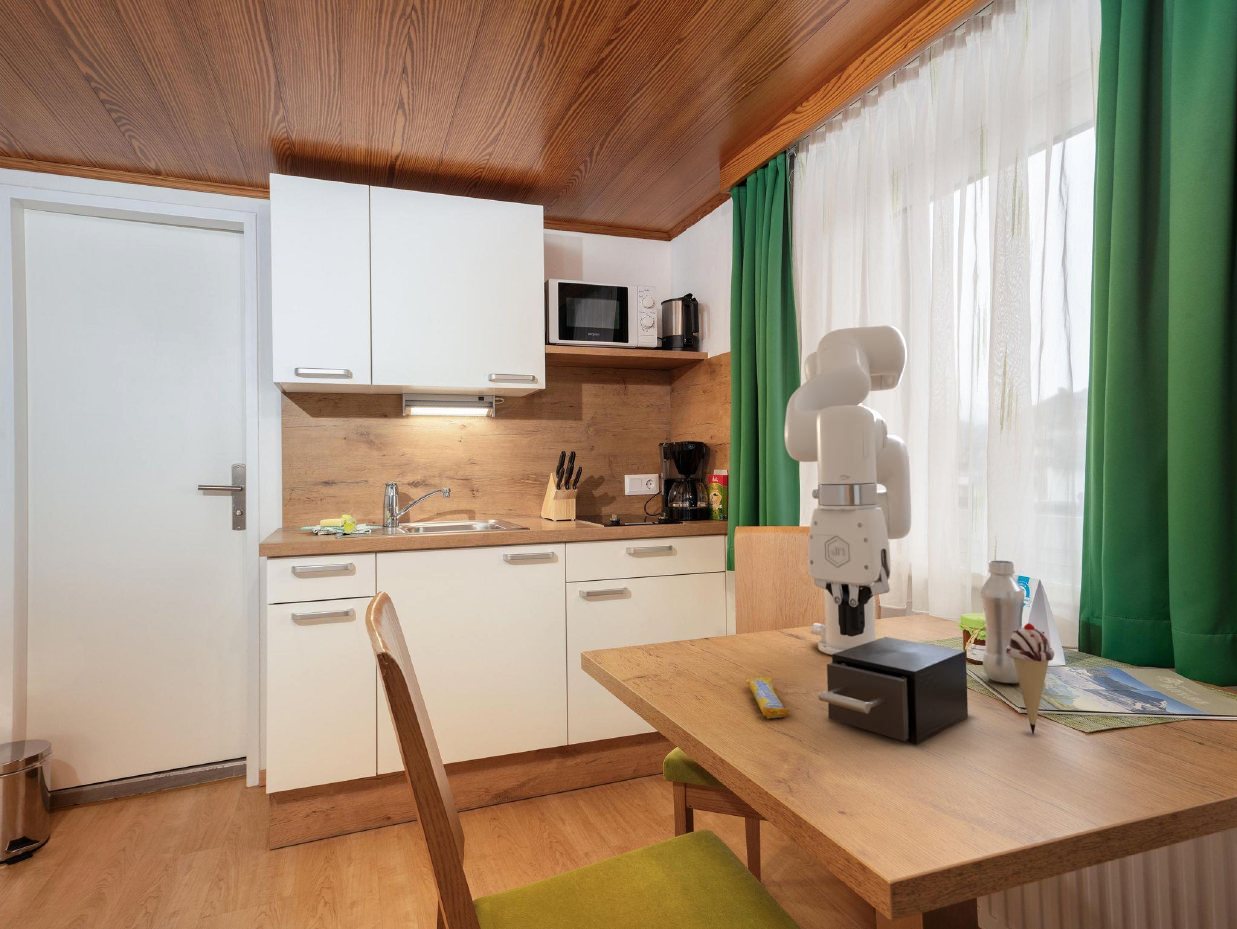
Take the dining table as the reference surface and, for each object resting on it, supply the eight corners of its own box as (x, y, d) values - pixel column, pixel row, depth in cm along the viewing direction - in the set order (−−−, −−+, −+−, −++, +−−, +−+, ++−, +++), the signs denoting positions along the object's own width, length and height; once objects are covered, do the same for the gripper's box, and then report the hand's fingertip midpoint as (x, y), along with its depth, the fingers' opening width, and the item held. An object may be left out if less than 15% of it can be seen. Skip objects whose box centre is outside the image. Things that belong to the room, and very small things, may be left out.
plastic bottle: (1016, 675, 120) (1011, 558, 120) (1035, 688, 113) (1031, 564, 113) (976, 675, 121) (972, 559, 121) (993, 688, 114) (989, 565, 114)
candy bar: (791, 721, 102) (790, 708, 102) (762, 721, 102) (762, 708, 102) (770, 685, 119) (770, 674, 119) (745, 685, 119) (745, 674, 119)
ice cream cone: (998, 730, 96) (995, 621, 96) (1029, 724, 98) (1025, 616, 98) (1036, 745, 91) (1032, 629, 91) (1068, 738, 93) (1064, 624, 93)
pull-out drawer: (881, 752, 88) (879, 690, 88) (805, 728, 97) (804, 671, 97) (953, 715, 100) (951, 660, 100) (879, 697, 109) (877, 646, 109)
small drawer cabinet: (917, 744, 92) (914, 671, 92) (833, 720, 102) (831, 654, 102) (968, 717, 101) (966, 650, 101) (887, 697, 111) (885, 636, 111)
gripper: (784, 498, 98) (789, 630, 98) (883, 499, 86) (888, 649, 86) (817, 496, 103) (821, 621, 102) (914, 496, 91) (919, 638, 91)
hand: (852, 633), depth 94 cm, fingers closed
